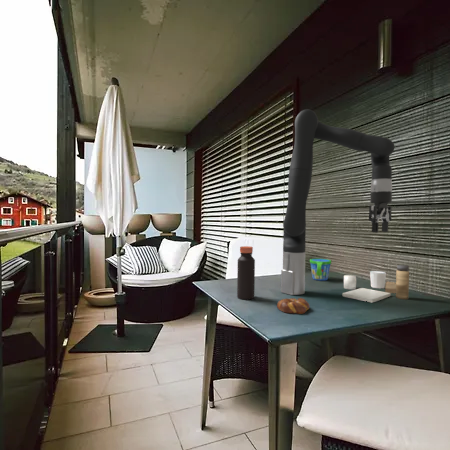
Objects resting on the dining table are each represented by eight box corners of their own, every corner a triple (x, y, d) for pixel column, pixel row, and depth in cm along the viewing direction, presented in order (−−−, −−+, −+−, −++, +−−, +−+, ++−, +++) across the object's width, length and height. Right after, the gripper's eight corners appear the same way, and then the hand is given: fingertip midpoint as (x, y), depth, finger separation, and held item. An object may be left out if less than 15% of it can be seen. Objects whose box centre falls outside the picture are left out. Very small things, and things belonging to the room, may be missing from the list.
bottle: (255, 296, 122) (256, 246, 122) (252, 300, 116) (253, 248, 115) (239, 294, 124) (239, 245, 124) (235, 299, 118) (235, 247, 117)
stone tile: (372, 302, 115) (372, 299, 115) (342, 296, 124) (342, 293, 124) (390, 296, 125) (390, 293, 125) (361, 290, 134) (361, 287, 134)
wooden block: (395, 293, 129) (396, 284, 129) (385, 292, 132) (385, 283, 131) (397, 291, 132) (397, 282, 132) (386, 290, 135) (387, 281, 135)
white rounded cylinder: (353, 289, 135) (353, 277, 135) (341, 288, 138) (341, 275, 138) (358, 288, 138) (358, 276, 138) (346, 286, 142) (346, 274, 142)
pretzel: (291, 303, 114) (291, 293, 114) (316, 310, 105) (317, 299, 105) (269, 309, 106) (270, 298, 106) (296, 317, 98) (296, 305, 98)
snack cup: (328, 283, 148) (328, 262, 147) (306, 281, 153) (306, 260, 152) (333, 278, 162) (333, 258, 161) (312, 276, 166) (313, 257, 166)
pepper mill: (405, 299, 119) (406, 266, 119) (393, 297, 122) (394, 265, 122) (410, 298, 122) (411, 265, 122) (398, 295, 125) (399, 264, 125)
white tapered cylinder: (388, 289, 137) (388, 273, 137) (371, 288, 139) (372, 272, 139) (383, 285, 144) (383, 271, 144) (367, 285, 145) (368, 270, 145)
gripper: (379, 192, 128) (378, 231, 128) (362, 190, 119) (361, 232, 120) (398, 191, 122) (397, 232, 123) (382, 189, 113) (381, 233, 114)
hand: (380, 232), depth 121 cm, fingers open, 8 cm apart
